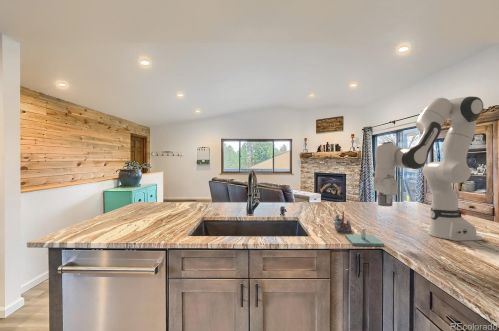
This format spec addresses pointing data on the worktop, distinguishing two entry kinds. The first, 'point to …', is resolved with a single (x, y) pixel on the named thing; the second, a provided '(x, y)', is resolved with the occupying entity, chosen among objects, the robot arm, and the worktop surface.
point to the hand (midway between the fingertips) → (385, 202)
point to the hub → (383, 201)
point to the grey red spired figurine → (342, 224)
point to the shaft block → (364, 239)
